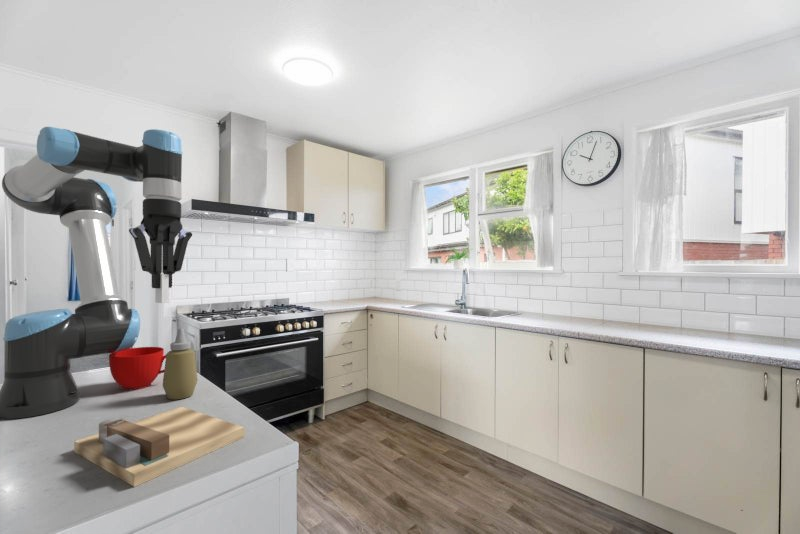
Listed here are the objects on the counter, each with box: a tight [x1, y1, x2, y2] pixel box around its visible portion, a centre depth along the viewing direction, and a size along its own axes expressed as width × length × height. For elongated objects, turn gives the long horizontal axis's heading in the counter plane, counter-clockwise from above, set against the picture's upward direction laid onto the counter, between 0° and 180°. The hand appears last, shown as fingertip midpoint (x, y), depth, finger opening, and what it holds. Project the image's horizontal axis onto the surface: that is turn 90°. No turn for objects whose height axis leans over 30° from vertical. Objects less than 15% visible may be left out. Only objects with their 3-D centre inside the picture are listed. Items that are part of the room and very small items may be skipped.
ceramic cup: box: [108, 346, 166, 390], centre depth 109 cm, size 13×17×10 cm
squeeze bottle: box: [162, 328, 199, 400], centre depth 100 cm, size 8×8×18 cm
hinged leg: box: [98, 417, 169, 460], centre depth 68 cm, size 17×4×3 cm, turn 64°
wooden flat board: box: [73, 406, 245, 488], centre depth 73 cm, size 22×20×5 cm
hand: (161, 302), depth 86 cm, fingers closed
